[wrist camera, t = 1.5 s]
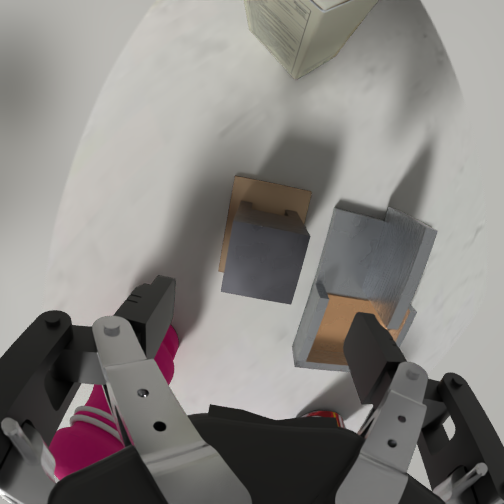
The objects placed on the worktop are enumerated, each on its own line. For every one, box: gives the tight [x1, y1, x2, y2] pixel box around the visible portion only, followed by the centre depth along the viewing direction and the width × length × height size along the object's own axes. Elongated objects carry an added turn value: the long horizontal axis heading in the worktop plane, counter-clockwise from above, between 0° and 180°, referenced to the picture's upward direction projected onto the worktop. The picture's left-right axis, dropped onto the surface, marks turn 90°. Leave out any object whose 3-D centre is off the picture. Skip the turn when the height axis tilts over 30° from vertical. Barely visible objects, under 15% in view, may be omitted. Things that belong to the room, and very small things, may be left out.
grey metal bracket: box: [292, 207, 437, 372], centre depth 21 cm, size 15×10×7 cm, turn 169°
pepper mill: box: [49, 325, 179, 480], centre depth 18 cm, size 7×7×20 cm
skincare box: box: [244, 0, 378, 80], centre depth 12 cm, size 6×4×12 cm
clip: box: [221, 200, 310, 304], centre depth 20 cm, size 4×4×6 cm
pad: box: [218, 176, 312, 272], centre depth 23 cm, size 8×6×1 cm
